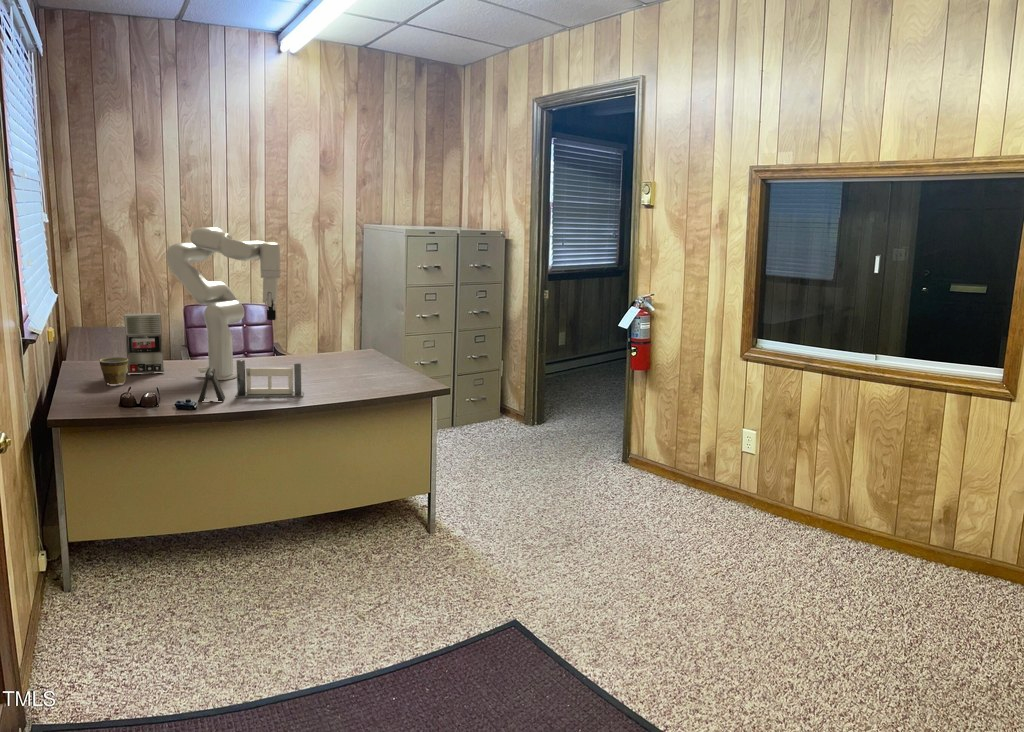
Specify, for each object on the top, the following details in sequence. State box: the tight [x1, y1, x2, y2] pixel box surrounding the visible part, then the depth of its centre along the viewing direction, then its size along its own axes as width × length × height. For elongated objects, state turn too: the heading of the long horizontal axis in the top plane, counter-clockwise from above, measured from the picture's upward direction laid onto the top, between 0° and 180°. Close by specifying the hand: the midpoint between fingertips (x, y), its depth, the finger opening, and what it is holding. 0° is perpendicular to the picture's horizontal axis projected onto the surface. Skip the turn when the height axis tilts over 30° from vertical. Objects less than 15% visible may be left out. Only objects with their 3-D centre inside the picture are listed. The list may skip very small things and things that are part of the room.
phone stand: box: [197, 368, 226, 403], centre depth 287 cm, size 9×6×12 cm, turn 105°
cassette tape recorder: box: [123, 312, 165, 374], centre depth 320 cm, size 14×6×25 cm, turn 114°
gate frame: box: [234, 359, 305, 399], centre depth 296 cm, size 25×6×14 cm, turn 102°
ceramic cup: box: [99, 356, 128, 384], centre depth 303 cm, size 13×10×10 cm
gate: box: [245, 367, 294, 394], centre depth 297 cm, size 17×2×10 cm, turn 101°
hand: (271, 319), depth 308 cm, fingers closed
